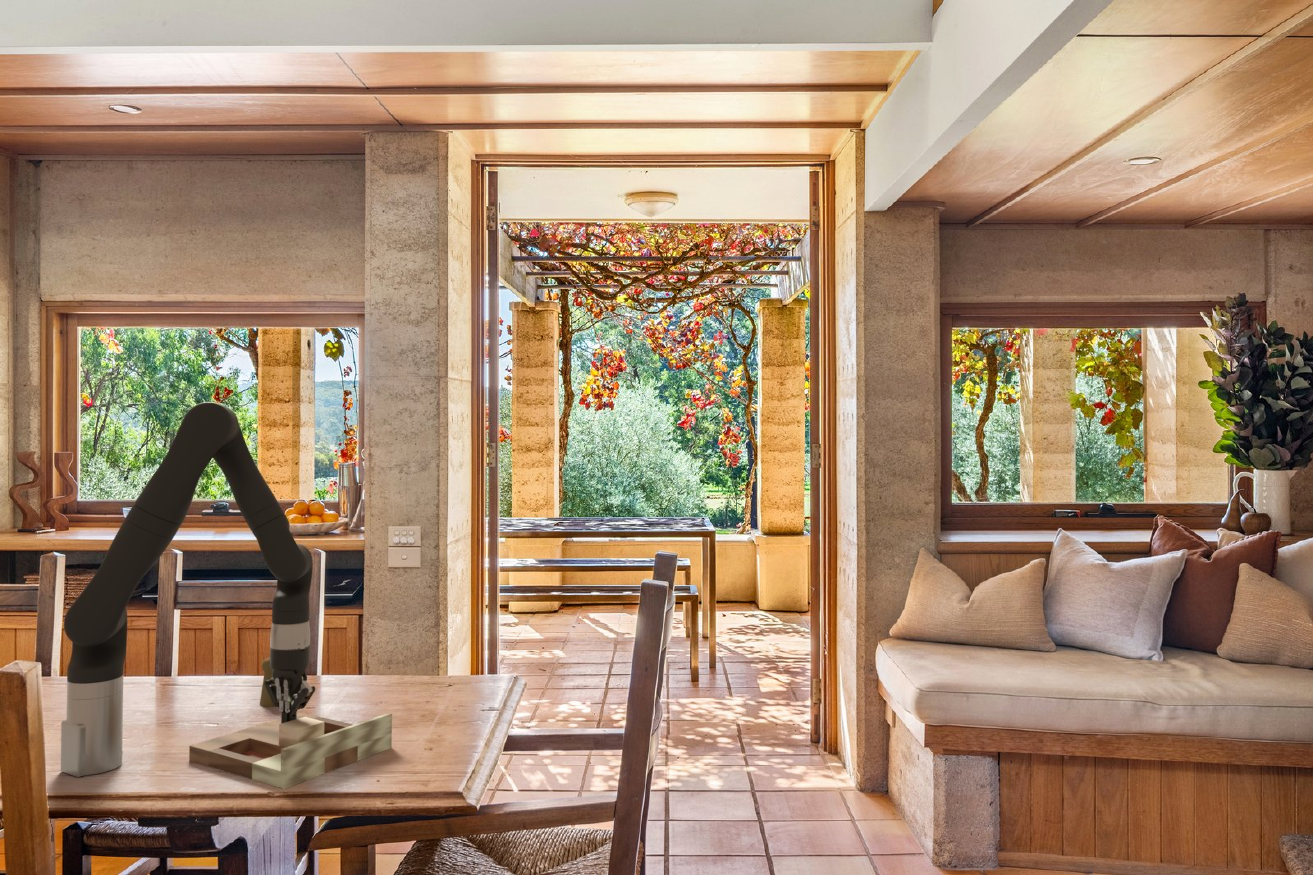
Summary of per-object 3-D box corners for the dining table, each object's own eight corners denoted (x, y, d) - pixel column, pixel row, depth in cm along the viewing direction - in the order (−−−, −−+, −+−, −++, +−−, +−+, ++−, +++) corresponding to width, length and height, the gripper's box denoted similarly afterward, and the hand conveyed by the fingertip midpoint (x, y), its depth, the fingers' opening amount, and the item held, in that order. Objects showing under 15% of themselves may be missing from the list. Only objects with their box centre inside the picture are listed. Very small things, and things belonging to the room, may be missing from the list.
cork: (276, 707, 214) (277, 661, 214) (254, 706, 216) (254, 659, 216) (292, 700, 220) (292, 655, 220) (269, 699, 221) (270, 654, 222)
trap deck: (284, 788, 164) (284, 750, 164) (189, 761, 178) (189, 725, 178) (391, 747, 187) (392, 713, 187) (299, 725, 201) (300, 694, 201)
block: (297, 750, 176) (298, 729, 176) (278, 744, 179) (279, 724, 179) (324, 741, 181) (324, 721, 181) (305, 736, 184) (305, 716, 184)
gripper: (252, 643, 183) (251, 729, 183) (297, 651, 177) (295, 740, 177) (283, 636, 190) (282, 719, 190) (327, 644, 184) (326, 730, 183)
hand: (288, 729), depth 183 cm, fingers closed
